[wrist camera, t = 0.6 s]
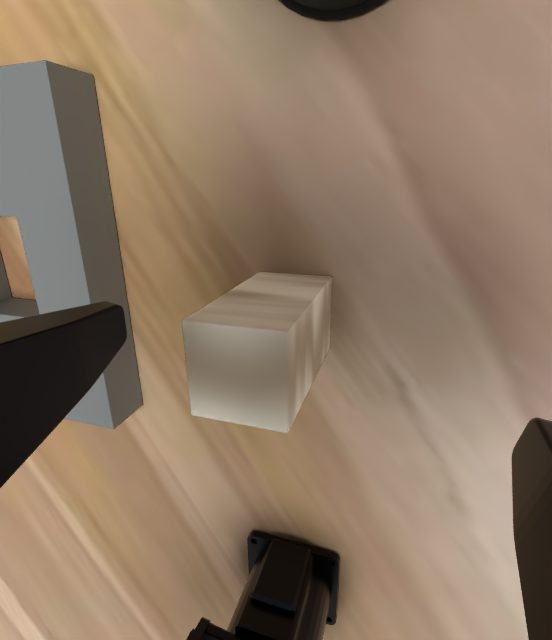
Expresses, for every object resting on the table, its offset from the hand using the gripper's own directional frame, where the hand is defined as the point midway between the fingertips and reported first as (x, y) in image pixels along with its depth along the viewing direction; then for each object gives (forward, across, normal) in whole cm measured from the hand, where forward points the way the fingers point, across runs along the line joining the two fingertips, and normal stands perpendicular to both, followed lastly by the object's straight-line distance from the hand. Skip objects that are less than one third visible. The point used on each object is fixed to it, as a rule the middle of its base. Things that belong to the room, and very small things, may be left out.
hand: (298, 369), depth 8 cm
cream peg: (+12, +3, +5) cm, 13 cm away
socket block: (+11, +21, +6) cm, 25 cm away
